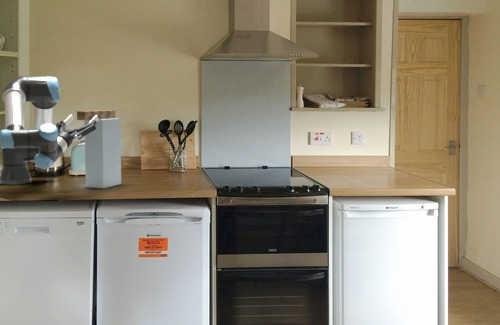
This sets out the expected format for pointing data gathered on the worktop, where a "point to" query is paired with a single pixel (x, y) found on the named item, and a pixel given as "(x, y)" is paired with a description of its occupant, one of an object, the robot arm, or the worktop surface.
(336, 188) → the worktop surface
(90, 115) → the rod
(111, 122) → the stand
